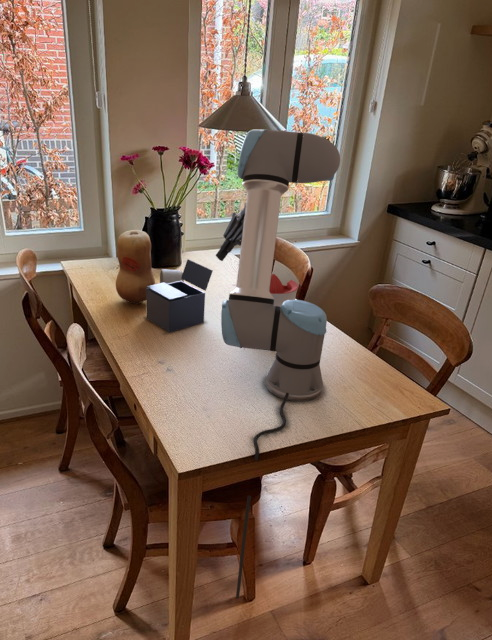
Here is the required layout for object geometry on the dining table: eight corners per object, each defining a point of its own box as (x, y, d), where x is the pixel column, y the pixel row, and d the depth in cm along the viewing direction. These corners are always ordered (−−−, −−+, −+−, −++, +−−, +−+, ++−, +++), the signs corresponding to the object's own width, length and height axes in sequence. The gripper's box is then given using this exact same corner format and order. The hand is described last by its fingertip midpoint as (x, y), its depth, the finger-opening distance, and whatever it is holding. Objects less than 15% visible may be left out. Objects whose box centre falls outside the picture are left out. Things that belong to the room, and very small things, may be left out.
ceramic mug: (184, 292, 199) (184, 272, 195) (162, 293, 196) (162, 273, 193) (178, 282, 207) (178, 263, 204) (157, 283, 205) (157, 264, 202)
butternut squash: (110, 306, 183) (107, 234, 171) (123, 292, 195) (121, 224, 182) (149, 311, 182) (149, 239, 169) (160, 297, 193) (160, 228, 180)
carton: (180, 309, 185) (181, 278, 179) (203, 322, 176) (205, 290, 171) (146, 318, 177) (146, 286, 171) (169, 332, 168) (169, 299, 163)
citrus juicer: (301, 330, 176) (310, 271, 166) (276, 348, 163) (284, 287, 153) (260, 317, 183) (266, 260, 173) (233, 334, 170) (238, 274, 160)
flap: (180, 278, 179) (181, 278, 179) (204, 290, 171) (205, 290, 171) (187, 259, 177) (188, 259, 178) (212, 270, 169) (212, 270, 169)
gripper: (278, 213, 177) (237, 270, 176) (251, 205, 186) (212, 259, 185) (268, 198, 172) (226, 257, 171) (241, 190, 180) (200, 246, 179)
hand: (218, 258), depth 178 cm, fingers closed
